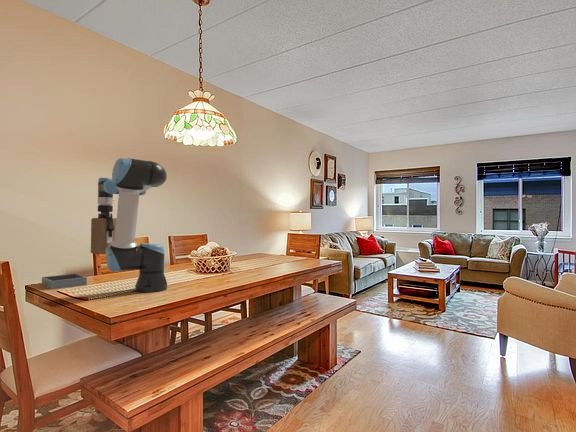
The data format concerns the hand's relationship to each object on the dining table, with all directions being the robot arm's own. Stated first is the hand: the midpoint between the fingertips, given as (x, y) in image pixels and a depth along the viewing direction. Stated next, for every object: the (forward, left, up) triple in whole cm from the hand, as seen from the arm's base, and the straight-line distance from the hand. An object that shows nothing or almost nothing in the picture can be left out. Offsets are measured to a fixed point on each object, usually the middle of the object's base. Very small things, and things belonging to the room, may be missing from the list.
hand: (104, 242), depth 187 cm
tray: (+1, +19, -22) cm, 29 cm away
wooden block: (0, 0, -6) cm, 6 cm away
